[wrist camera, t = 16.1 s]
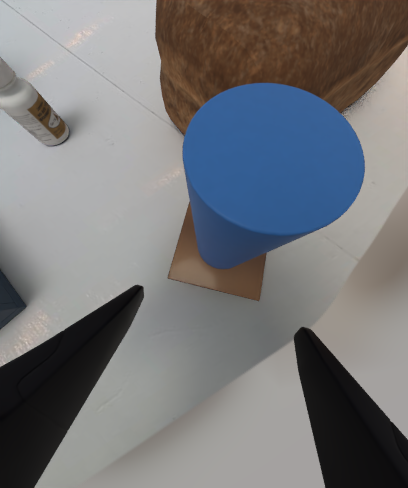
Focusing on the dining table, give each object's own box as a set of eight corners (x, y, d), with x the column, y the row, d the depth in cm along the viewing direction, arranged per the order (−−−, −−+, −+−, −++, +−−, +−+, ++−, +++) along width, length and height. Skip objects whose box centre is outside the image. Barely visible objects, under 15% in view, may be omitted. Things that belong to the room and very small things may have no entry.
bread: (374, 93, 25) (558, -108, 12) (231, 199, 20) (280, 61, 7) (297, 38, 28) (377, -170, 15) (157, 120, 23) (102, -77, 10)
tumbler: (203, 274, 17) (205, 256, 4) (192, 226, 18) (167, 96, 5) (253, 262, 17) (402, 210, 4) (239, 216, 18) (321, 69, 5)
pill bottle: (71, 142, 22) (4, 72, 15) (40, 149, 22) (-45, 82, 14) (69, 120, 23) (4, 43, 16) (39, 126, 23) (-42, 51, 15)
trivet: (254, 299, 17) (259, 301, 16) (170, 278, 18) (167, 278, 16) (267, 219, 20) (272, 214, 18) (191, 202, 20) (190, 196, 19)
